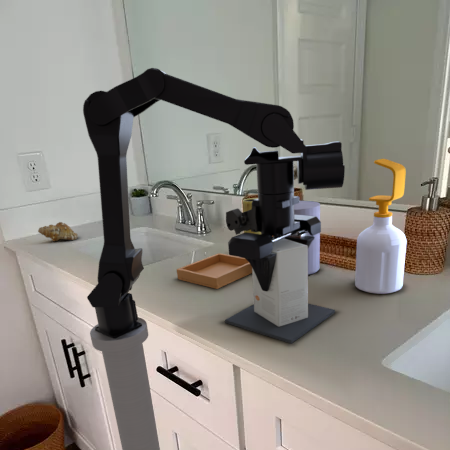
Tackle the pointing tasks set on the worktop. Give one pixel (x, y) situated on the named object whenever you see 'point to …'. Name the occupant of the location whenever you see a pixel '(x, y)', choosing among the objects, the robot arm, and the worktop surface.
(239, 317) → the mat
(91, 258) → the worktop surface
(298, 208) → the container
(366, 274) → the soap bottle
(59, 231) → the seashell
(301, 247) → the small box
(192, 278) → the tray
